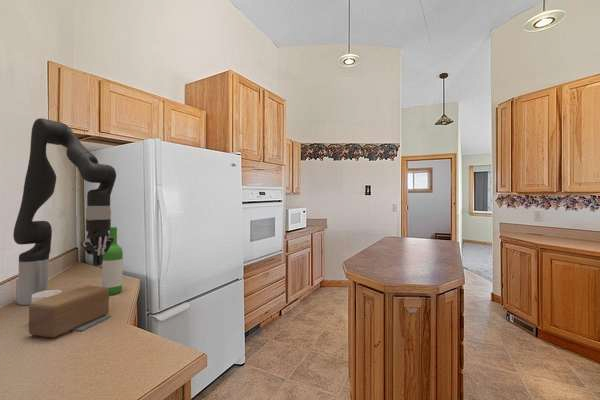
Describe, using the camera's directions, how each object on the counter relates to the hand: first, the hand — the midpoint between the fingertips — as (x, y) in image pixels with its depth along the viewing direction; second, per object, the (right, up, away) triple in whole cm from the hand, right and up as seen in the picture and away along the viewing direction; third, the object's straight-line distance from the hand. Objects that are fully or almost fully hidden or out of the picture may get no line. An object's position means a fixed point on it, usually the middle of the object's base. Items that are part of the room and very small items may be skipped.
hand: (97, 265), depth 106 cm
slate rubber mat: (-1, -19, -7) cm, 20 cm away
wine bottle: (-11, -19, +25) cm, 33 cm away
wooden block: (0, -13, +1) cm, 13 cm away
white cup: (-13, -19, -6) cm, 24 cm away
